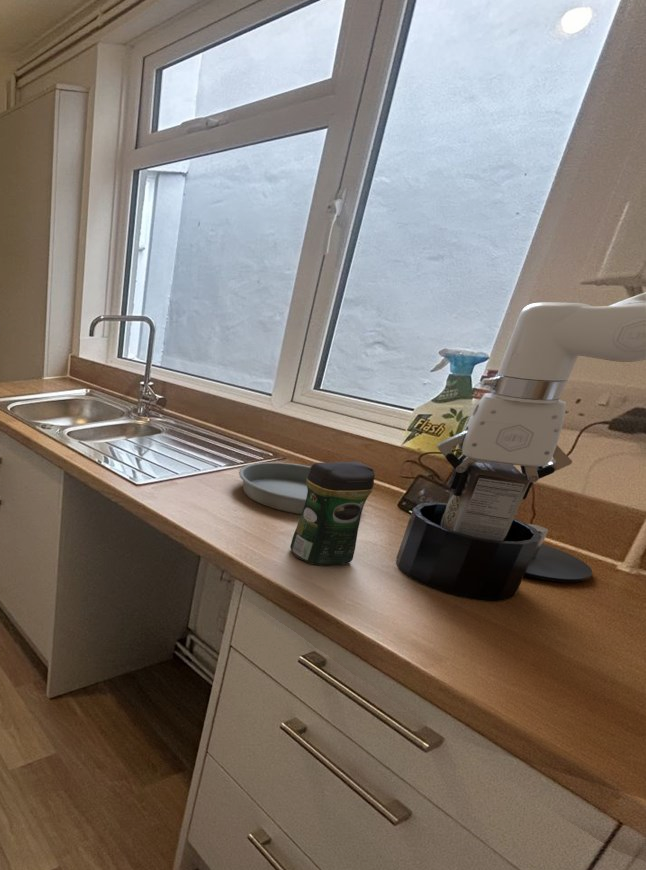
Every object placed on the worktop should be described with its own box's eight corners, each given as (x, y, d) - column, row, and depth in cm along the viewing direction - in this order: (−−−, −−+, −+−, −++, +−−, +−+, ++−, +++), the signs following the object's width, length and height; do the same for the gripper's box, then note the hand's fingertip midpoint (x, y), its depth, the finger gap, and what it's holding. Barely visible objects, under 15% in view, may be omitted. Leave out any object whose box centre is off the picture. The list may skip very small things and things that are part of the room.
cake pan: (242, 511, 117) (246, 492, 116) (230, 474, 139) (233, 457, 137) (372, 525, 110) (378, 506, 108) (338, 484, 131) (342, 467, 130)
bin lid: (568, 552, 99) (583, 520, 96) (607, 595, 86) (626, 559, 83) (452, 531, 107) (464, 501, 105) (472, 568, 94) (486, 535, 91)
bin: (500, 567, 94) (523, 514, 90) (528, 612, 82) (556, 553, 78) (391, 545, 102) (408, 496, 98) (402, 584, 89) (421, 529, 85)
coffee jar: (330, 545, 102) (355, 455, 95) (359, 566, 95) (389, 470, 88) (281, 547, 102) (303, 456, 95) (306, 568, 94) (332, 471, 87)
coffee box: (431, 540, 95) (462, 456, 89) (478, 549, 92) (513, 462, 86) (441, 562, 88) (475, 472, 82) (492, 572, 85) (532, 480, 79)
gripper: (457, 387, 81) (420, 495, 87) (621, 399, 72) (565, 517, 79) (447, 379, 86) (413, 480, 93) (597, 390, 78) (548, 500, 85)
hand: (483, 496), depth 86 cm, fingers closed on coffee box, 6 cm apart
